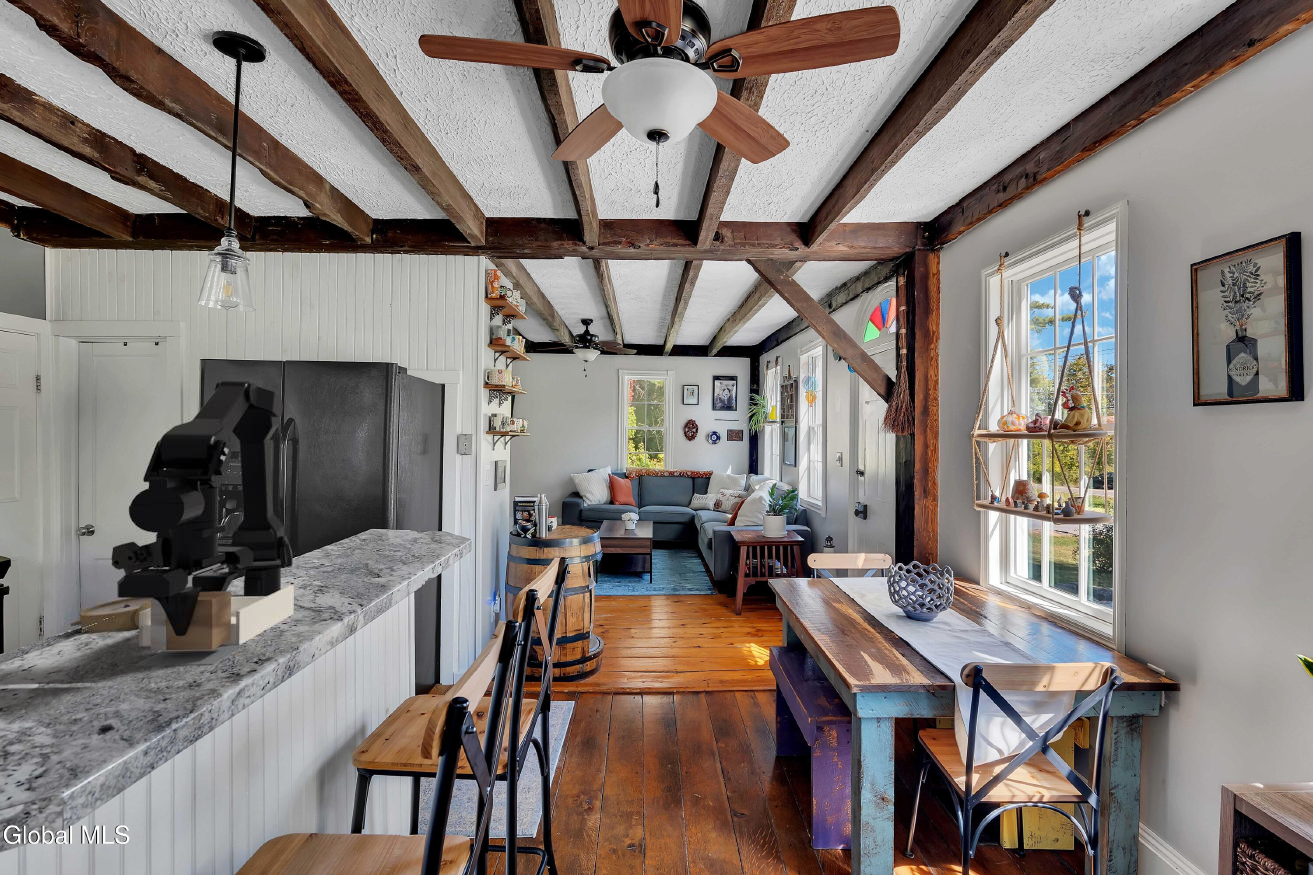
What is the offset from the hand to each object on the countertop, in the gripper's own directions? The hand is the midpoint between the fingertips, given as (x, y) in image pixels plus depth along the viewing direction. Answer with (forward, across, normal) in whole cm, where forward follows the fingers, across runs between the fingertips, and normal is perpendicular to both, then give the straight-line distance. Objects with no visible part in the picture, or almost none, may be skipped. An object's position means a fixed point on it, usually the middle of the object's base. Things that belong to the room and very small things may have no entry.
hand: (192, 630), depth 82 cm
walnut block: (+2, 0, 0) cm, 2 cm away
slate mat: (+4, 0, 0) cm, 4 cm away
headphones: (+5, -16, -19) cm, 25 cm away
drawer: (+4, -11, -3) cm, 12 cm away
